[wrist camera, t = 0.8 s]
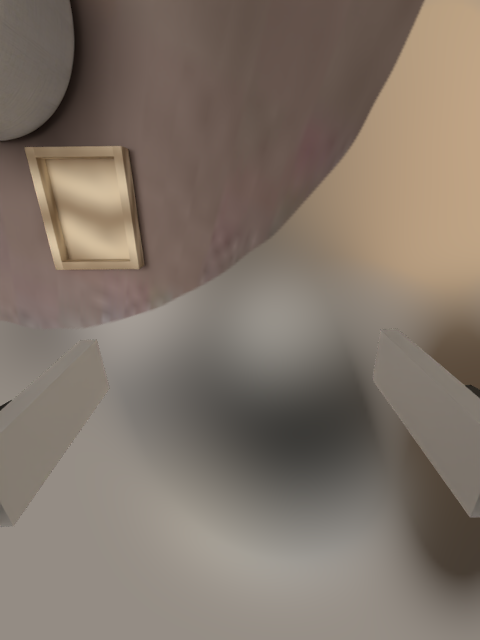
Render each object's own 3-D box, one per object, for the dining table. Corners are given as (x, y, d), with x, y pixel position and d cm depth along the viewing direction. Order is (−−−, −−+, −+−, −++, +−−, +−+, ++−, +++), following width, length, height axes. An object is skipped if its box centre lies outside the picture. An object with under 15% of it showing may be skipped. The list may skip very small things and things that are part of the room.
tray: (37, 150, 35) (24, 147, 33) (128, 149, 35) (120, 146, 32) (65, 265, 40) (55, 269, 38) (144, 265, 40) (139, 269, 38)
